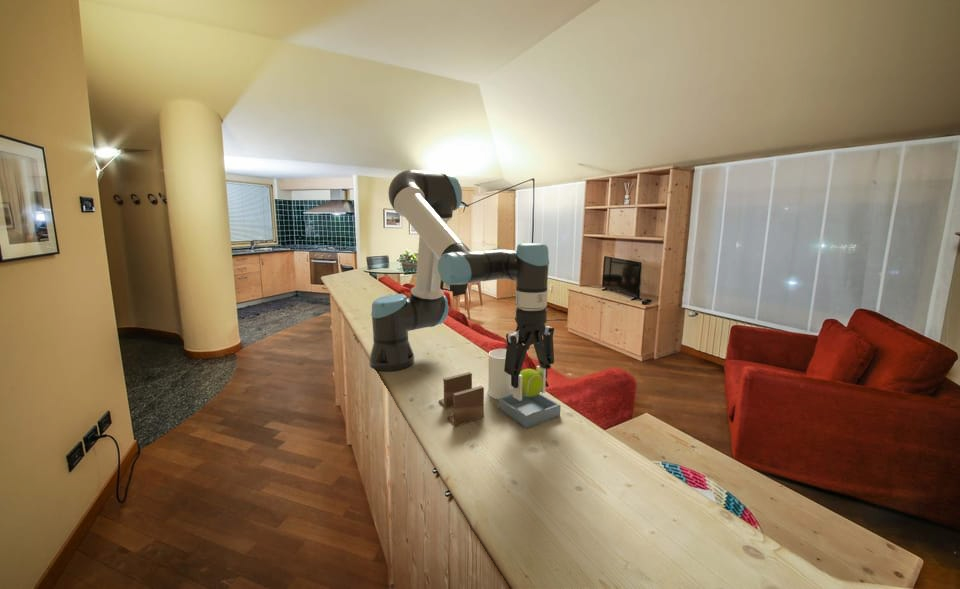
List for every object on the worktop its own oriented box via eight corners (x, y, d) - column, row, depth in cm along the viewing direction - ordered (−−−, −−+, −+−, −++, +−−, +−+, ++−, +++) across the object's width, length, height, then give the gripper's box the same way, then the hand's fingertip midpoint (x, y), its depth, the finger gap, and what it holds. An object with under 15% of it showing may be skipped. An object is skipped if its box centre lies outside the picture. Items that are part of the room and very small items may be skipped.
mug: (528, 401, 102) (529, 360, 100) (500, 407, 99) (501, 365, 97) (508, 384, 113) (509, 346, 111) (482, 389, 110) (482, 350, 107)
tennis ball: (548, 397, 95) (549, 371, 93) (527, 404, 91) (527, 377, 90) (530, 387, 101) (531, 362, 99) (509, 393, 97) (510, 368, 95)
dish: (498, 409, 98) (498, 398, 98) (531, 398, 104) (531, 388, 104) (525, 428, 89) (525, 417, 88) (559, 415, 95) (560, 404, 94)
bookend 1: (439, 402, 102) (438, 374, 101) (464, 394, 106) (464, 368, 105) (446, 408, 99) (445, 380, 97) (472, 400, 103) (471, 373, 101)
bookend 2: (447, 418, 94) (447, 388, 92) (475, 409, 98) (474, 381, 96) (456, 426, 90) (455, 395, 89) (483, 416, 94) (483, 387, 93)
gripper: (507, 316, 83) (506, 411, 87) (571, 305, 93) (567, 390, 98) (488, 309, 89) (488, 398, 94) (550, 299, 99) (548, 380, 104)
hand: (529, 394), depth 96 cm, fingers closed on tennis ball, 7 cm apart
